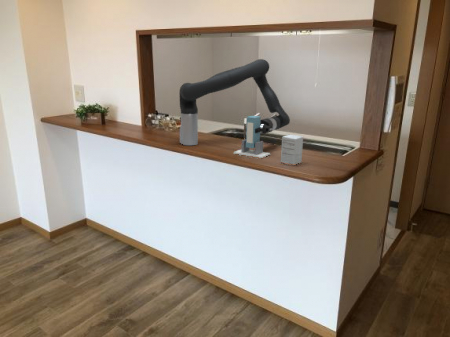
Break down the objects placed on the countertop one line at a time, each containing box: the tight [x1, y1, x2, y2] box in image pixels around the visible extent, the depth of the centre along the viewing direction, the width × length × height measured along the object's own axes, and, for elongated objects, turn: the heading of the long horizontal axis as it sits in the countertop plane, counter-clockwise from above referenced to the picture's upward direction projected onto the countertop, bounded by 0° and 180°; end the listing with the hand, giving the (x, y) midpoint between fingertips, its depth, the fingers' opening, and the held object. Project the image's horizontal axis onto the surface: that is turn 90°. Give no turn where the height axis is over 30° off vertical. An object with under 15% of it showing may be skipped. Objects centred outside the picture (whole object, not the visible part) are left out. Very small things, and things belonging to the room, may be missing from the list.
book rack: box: [233, 138, 271, 158], centre depth 184 cm, size 16×9×7 cm, turn 57°
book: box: [245, 115, 262, 149], centre depth 182 cm, size 4×6×15 cm
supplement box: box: [280, 134, 304, 165], centre depth 171 cm, size 7×7×13 cm
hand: (251, 130), depth 180 cm, fingers closed on book, 4 cm apart
